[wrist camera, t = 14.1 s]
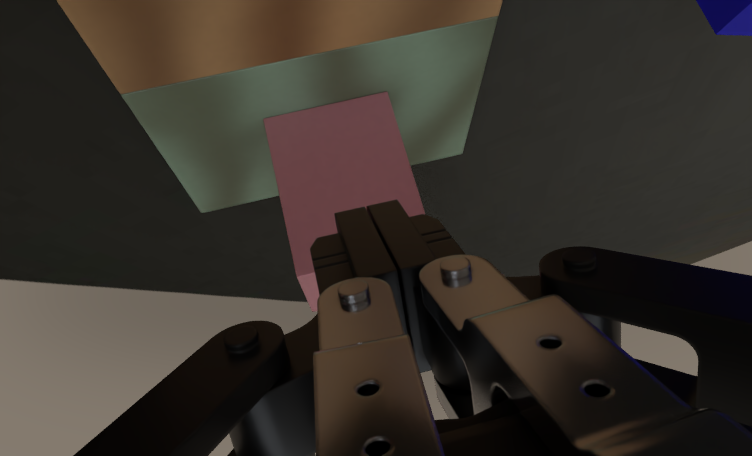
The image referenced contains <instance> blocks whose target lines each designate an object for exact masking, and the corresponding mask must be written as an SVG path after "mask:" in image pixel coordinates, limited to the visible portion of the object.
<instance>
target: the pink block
mask: <svg viewBox="0 0 752 456" xmlns="http://www.w3.org/2000/svg"><path fill="white" fill-rule="evenodd" d="M263 121H264V126H265V130H266V135H267V140H268V144H269V149H270V154H271V158H272V163H273V168H274V172H275V177H276V182H277V187H278V191H279V196H280V201H281V205H282V210H283V215H284V219H285V224H286V229H287V233H288V238H289V243H290V247H291V252H292V257H293V262H294V266H295V271H296V276H297V278H298V281H299V283H300V285H301V287H302V290H303V292H304V294H305V296H306V299H307V301H308V303H309V305H310V308H311V310H312V312H315V311H318V310H317V301H318V298H319V296H320V295H319V290H318V285H317V281H316V276H315V271H314V267H313V262H312V257H311V253H310V248H311V246H312V244H313V243H314V241H315V240H316V238H318V237H322V236H327V235H331V234H336V233H338V232H337V227H336V222H335V216H334V213H337V212H341V211H346V210H351V209H355V208H360V207H365V208H366V210H367V206H368V205H373V204H377V203H382V202H387V201H391V200H396V199H397V200H398V201H399V203H400V204H401V206H402V207H403V208H404V210H405V211H406V213H407V214H408V216H409V217H411V216H416V215H420V214H425V212H424V208H423V205H422V202H421V199H420V196H419V192H418V189H417V186H416V183H415V179H414V176H413V173H412V170H411V166H410V163H409V160H408V157H407V153H406V150H405V147H404V144H403V141H402V137H401V134H400V131H399V128H398V124H397V121H396V118H395V115H394V111H393V108H392V105H391V102H390V99H389V95H388V92H382V93H378V94H373V95H368V96H364V97H359V98H355V99H350V100H346V101H341V102H337V103H332V104H328V105H323V106H319V107H314V108H310V109H305V110H300V111H296V112H291V113H287V114H282V115H278V116H273V117H269V118H264V119H263Z"/></svg>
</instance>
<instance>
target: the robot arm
mask: <svg viewBox="0 0 752 456" xmlns="http://www.w3.org/2000/svg"><path fill="white" fill-rule="evenodd" d="M334 216H335V222H336V227H337V232H338V233H336V234H331V235H327V236H322V237H318V238H316V240H315V241H314V243H313V244H312V246H311V248H310V253H311V257H312V262H313V267H314V271H315V276H316V281H317V285H318V290H319V295H320V296H319V298H318V301H317V310H318V313H317V315H316V316H315V317H314V318H313V319H312V320H311V321H310V322H308V323H307V324H305V325H304V326H302V327H301V328H298V329H297V330H295V331H292V332H290V333H288V334H285V335H284V334H283V331H282V329H281V327H280V326H278V325H277V324H275V323H272V322H268V321H250V322H245V323H241V324H237V325H235V326H232V327H229V328H227V329H225V330H223V331H221V332H220V333H218V334H217V335H215V336H214V337H213V338H211V339H210V340H209V341H208V342H207V343H205V344H204V345H203V346H202V347H201V348H200V349H198V350H197V351H196V352H195V353H194V354H192V356H190V357H189V358H188V359H187V360H185V361H184V362H183V363H182V364H181V365H180V366H178V367H177V368H176V369H175V370H174V371H172V372H171V373H170V374H169V375H168V376H167V377H165V378H164V379H163V380H162V381H161V382H160V383H158V384H157V385H156V386H155V387H154V388H153V389H151V390H150V391H149V392H148V393H147V394H145V395H144V396H143V397H142V398H141V399H139V400H138V401H137V402H136V403H135V404H134V405H132V406H131V407H130V408H129V409H128V410H127V411H125V412H124V413H123V414H122V415H121V416H120V417H118V418H117V419H116V420H115V421H114V422H112V424H110V425H109V426H108V427H106V428H105V429H104V430H103V431H102V432H101V433H99V434H98V435H97V436H96V437H95V438H94V439H92V440H91V441H90V442H89V443H88V444H86V445H85V446H84V447H83V448H82V449H81V450H80V451H78V452H77V453H76V454H75V455H74V456H208V455H209V454H210V453H211V451H213V450H214V449H215V448H216V446H217V445H218V444H219V443H220V442H221V441H222V440H223V439H224V438H225V437H226V436H227V435H228V434H230V437H231V440H232V443H233V447H234V449H233V450H232V451H231V452H230V453H229V454H228V456H315V452H316V456H752V276H750V275H744V274H739V273H732V272H727V271H722V270H716V269H711V268H705V267H699V266H694V265H689V264H683V263H677V262H672V261H666V260H661V259H655V258H650V257H644V256H638V255H633V254H627V253H622V252H616V251H610V250H605V249H599V248H593V247H567V248H562V249H558V250H555V251H552V252H550V253H548V254H547V255H545V256H544V257H543V258H542V259H541V261H540V263H539V271H540V276H524V277H505V276H504V275H503V274H502V273H501V272H500V271H499V270H498V269H497V268H496V267H495V266H493V265H492V264H491V263H490V262H489V261H488V260H486V259H484V258H481V257H478V256H473V255H466V254H465V253H464V252H463V251H462V249H461V248H460V247H459V245H458V244H457V243H456V242H455V240H454V239H453V238H451V235H450V234H449V233H448V231H446V229H445V228H444V226H443V225H442V224H441V223H440V221H439V220H438V219H435V218H433V217H430V216H428V215H425V214H420V215H416V216H411V217H409V216H408V214H407V213H406V211H405V210H404V208H403V207H402V206H401V204H400V203H399V201H398V200H397V199H396V200H391V201H387V202H382V203H377V204H373V205H368V206H367V210H366V208H365V207H360V208H355V209H351V210H346V211H341V212H337V213H334ZM621 322H623V323H626V324H631V325H635V326H638V327H642V328H646V329H650V330H654V331H658V332H662V333H666V334H670V335H674V336H677V337H679V338H682V339H683V340H685V341H687V342H688V343H689V344H690V345H691V346H692V347H693V348H694V350H695V351H696V353H697V355H698V377H697V376H693V375H690V374H686V373H683V372H680V371H676V370H673V369H669V368H665V367H662V366H658V365H655V364H652V363H648V362H645V361H641V360H638V359H634V358H632V357H631V356H630V355H629V354H628V353H626V352H625V351H624V350H623V349H622V348H621ZM430 370H432V372H433V374H434V379H435V386H436V392H437V398H438V400H439V402H440V404H441V405H442V407H443V409H444V411H445V412H446V414H447V416H448V417H449V419H444V420H434V417H433V415H432V411H431V407H430V404H429V401H428V397H427V394H426V390H425V387H424V384H423V381H422V377H421V374H420V373H422V372H425V371H430Z"/></svg>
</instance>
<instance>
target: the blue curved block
mask: <svg viewBox="0 0 752 456" xmlns="http://www.w3.org/2000/svg"><path fill="white" fill-rule="evenodd" d="M696 1H697V2H698V4H699V6H700V8H701V9H702V11H703V13H704V15H705V16H706V18H707V20H708V22H709V23H710V25H711V27H712V28H713V30H714V32H715V34H717V35H748V36H752V0H696Z"/></svg>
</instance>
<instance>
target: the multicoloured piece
mask: <svg viewBox="0 0 752 456" xmlns="http://www.w3.org/2000/svg"><path fill="white" fill-rule="evenodd" d="M57 2H58V3H59V5H60V6H61V8H62V9H63V11H64V12H65V14H66V15H67V16H68V18H69V19H70V21H71V22H72V24H73V25H74V27H75V28H76V30H77V31H78V33H79V34H80V36H81V37H82V38H83V40H84V41H85V43H86V44H87V46H88V47H89V49H90V50H91V52H92V53H93V55H94V56H95V58H96V59H97V61H98V62H99V63H100V65H101V66H102V68H103V69H104V71H105V72H106V74H107V75H108V77H109V78H110V80H111V81H112V83H113V84H114V85H115V87H116V88H117V90H118V91H119V93H120V94H121V96H122V97H123V99H124V100H125V102H126V103H127V105H128V106H129V107H130V109H131V110H132V112H133V113H134V115H135V116H136V118H137V119H138V121H139V122H140V124H141V125H142V127H143V128H144V129H145V131H146V132H147V134H148V135H149V137H150V138H151V140H152V141H153V143H154V144H155V146H156V147H157V149H158V150H159V152H160V153H161V154H162V156H163V157H164V159H165V160H166V162H167V163H168V165H169V166H170V168H171V169H172V171H173V172H174V174H175V175H176V176H177V178H178V179H179V181H180V182H181V184H182V185H183V187H184V188H185V190H186V191H187V193H188V194H189V196H190V197H191V198H192V200H193V201H194V203H195V204H196V206H197V207H198V209H199V210H200V212H201V213H205V212H209V211H213V210H218V209H222V208H227V207H231V206H235V205H240V204H244V203H248V202H253V201H257V200H262V199H266V198H270V197H275V196H279V191H278V187H277V182H276V177H275V172H274V168H273V163H272V158H271V154H270V149H269V144H268V140H267V135H266V130H265V126H264V121H263V119H264V118H269V117H273V116H278V115H282V114H287V113H291V112H296V111H300V110H305V109H310V108H314V107H319V106H323V105H328V104H332V103H337V102H341V101H346V100H350V99H355V98H359V97H364V96H368V95H373V94H378V93H382V92H388V95H389V99H390V102H391V105H392V108H393V111H394V115H395V118H396V121H397V124H398V128H399V131H400V134H401V137H402V141H403V144H404V147H405V150H406V153H407V157H408V160H409V163H410V166H411V165H415V164H419V163H424V162H428V161H433V160H437V159H441V158H446V157H450V156H455V155H459V154H462V153H463V149H464V145H465V142H466V138H467V134H468V130H469V126H470V122H471V119H472V115H473V111H474V107H475V103H476V100H477V96H478V92H479V88H480V84H481V80H482V77H483V73H484V69H485V65H486V61H487V58H488V54H489V50H490V46H491V42H492V38H493V35H494V31H495V27H496V23H497V19H498V15H499V12H500V8H501V4H502V0H57Z"/></svg>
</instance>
